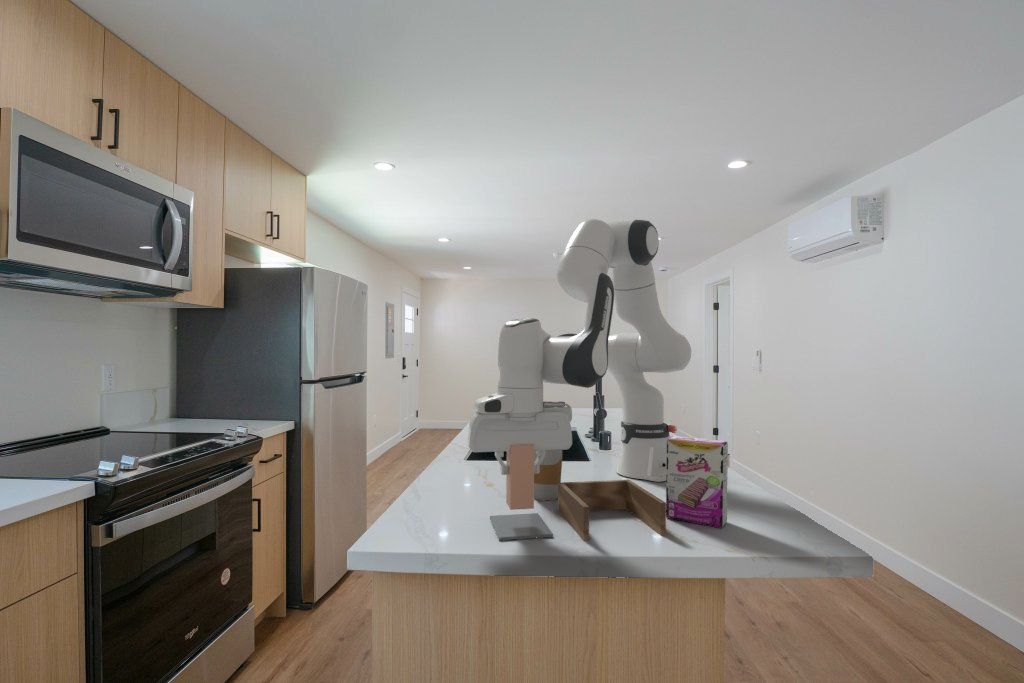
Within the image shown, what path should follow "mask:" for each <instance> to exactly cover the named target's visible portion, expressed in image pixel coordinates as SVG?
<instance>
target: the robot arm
mask: <svg viewBox="0 0 1024 683" xmlns="http://www.w3.org/2000/svg"><path fill="white" fill-rule="evenodd" d="M659 244H660V243H659V234H658V230H657V228H656V227H655V226H654V224H653V223H651V221H649V220H644V219H635V220H625V221H624V220H623V221H622V220H621V221H612V222H609V223H607V222H605V221H604V220H601V219H597V218H595V219H594V218H590V219H587V220H586V219H585V220H584V221H582V222H581V223H580V224H578V225H577V228H575V230H574V231H573V233H572V235H571V236H570V238H569V239H568V241H567V243H566V245H565V248H564V250H563V252H562V254H561V256H560V259H559V261H558V264H557V268H556V279H557V282H558V285H559V286H560V287H561V289H562V290H563V291H564V292H565V293H566V294H568V296H570V297H572V298H573V299H575V300H578V301H580V302H584V303H587V307H586V314H585V318H584V319H585V320H584V324H583V329H582V331H581V332H580V333H578V334H575V335H573V336H570V335H569V336H554V335H552V334H549V333H548V332H546V331H545V330H544V329H543V328H542V325H541V324H542V323H541V321H540V320H539V319H537V318H533V317H528V318H525V317H524V318H519V319H517V318H515V319H510V320H508V321H506V322H504V323H503V324H502V326H501V329H500V332H499V338H498V346H497V347H498V348H497V364H498V369H499V380H498V382H497V391H496V392H495V393H492V394H488V395H486V396H483V397H480V398H477V399H476V400H475V401H474V409H475V412H474V413H473V414H472V415H471V417H470V420H469V425H468V431H467V432H468V433H467V447H468V449H469V450H470V451H471V452H472V453H492V452H494V456H495V459H496V460H497V462H498V463H499V465H500V466H499V467H500V475H501V476H503V475H505V476H507V475H509V465H508V464H507V463H504V461H503V459H502V458H504V457H505V456H504V454H505V453H504V452H507V451H510V445H534V450H536V454H537V455H538V457H537V459H536V460H535V462H534V474H539V473H540V464H541V463H542V461H543V459H544V457H545V450H562V451H564V450H569V449H570V448H571V447H572V446H573V436H572V435H573V433H572V432H573V430H572V425H571V421H572V420H573V409H572V407H571V406H570V404H568V403H566V401H544V383H549V384H554V385H555V384H556V385H568V386H569V385H571V386H574V387H578V388H579V387H581V388H585V389H586V388H587V389H589V388H592V387H594V386H595V385H596V384H598V383H599V382H600V381H601V380H602V378H604V376H605V375H606V373H607V371H608V372H610V374H611V375H612V377H614V380H616V383H617V385H618V387H619V390H620V395H621V406H622V407H621V408H622V409H621V410H622V421H621V422H620V441H621V448H620V455H619V460H618V464H617V468H616V473H617V474H619V475H620V476H622V477H628V478H632V479H636V480H638V479H640V480H646V481H649V482H650V481H651V482H654V483H655V482H657V483H658V482H666V475H667V439H668V438H670V437H671V436H670V433H672V434H675V433H676V432H677V431H678V427H677V426H676V425H674V424H668V423H665V421H664V419H665V418H664V417H665V416H664V410H665V408H664V404H665V403H664V400H665V399H664V396H663V394H662V393H661V391H660V390H659V389H658V388H656V387H654V386H653V385H652V384H649V383H648V382H647V380H646V379H645V376H644V373H659V374H660V373H663V374H666V373H673V372H678V371H683V370H684V369H686V367H687V366H689V363H690V361H691V358H692V348H691V344H690V341H689V340H688V339H687V338H686V337H685V335H683V334H681V333H680V332H678V331H677V330H676V329H674V328H673V327H672V325H670V324H669V322H668V321H667V320H666V318H665V316H664V315H663V313H662V311H661V307H660V304H659V299H658V298H659V297H658V293H657V286H656V279H655V272H654V269H653V264H652V261H653V260H654V258H655V256H656V255H657V253H658V250H659ZM609 269H611V277H610V275H608V272H609ZM614 303H615V310H616V313H617V315H618V317H619V318H620V320H621V321H624V322H625V323H627V324H630V325H631V326H632V327H634V329H635V330H636V331H637V332H619V333H614V334H610V332H611V324H612V316H613V311H614Z"/></svg>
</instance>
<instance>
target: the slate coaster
mask: <svg viewBox="0 0 1024 683" xmlns="http://www.w3.org/2000/svg"><path fill="white" fill-rule="evenodd" d="M489 520H491V521H490V522H492V523H491V525H492V528H493V529H495V530H494V532H495V531H496V532H495V534H496V537H497V536H498V537H497V539H498V541H499V540H503V541H512V540H511V539H518V540H526V539H525V538H534V539H543V537H549V538H554V533H553V532H552V530H551V529H550V528H549V526H548V525H547V523H546V522H545V521H544V519H542V517H541V516H540V514H539V513H538V512H535V513H533V512H532V513H517V514H516V513H515V514H499V515H489ZM536 537H537V538H536ZM541 537H542V538H541Z"/></svg>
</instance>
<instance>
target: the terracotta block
mask: <svg viewBox="0 0 1024 683" xmlns="http://www.w3.org/2000/svg"><path fill="white" fill-rule="evenodd" d="M506 464H508V465H509V475H506V479H505V480H506V481H505V482H506V489H505V490H506V493H505V494H506V495H505V496H506V498H505V499H506V500H505V502H506V505H507V507H509V510H513V511H514V510H530V509H534V508H535V498H534V445H510V451H506Z"/></svg>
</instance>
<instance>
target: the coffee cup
mask: <svg viewBox="0 0 1024 683" xmlns="http://www.w3.org/2000/svg"><path fill="white" fill-rule="evenodd" d="M537 457H538V455H537V454H536V450H534V462H535V460H536V459H537ZM562 467H563V450H545V457H544V459H543V461H542V463H541V464H540V473H539V474H534V499H535V498H536V499H535V500H538V499H540V500H539V501H544V500H549V501H554V500H558V483H562V470H563V469H562Z"/></svg>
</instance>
